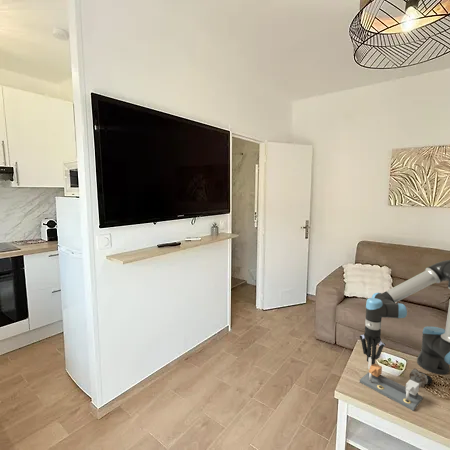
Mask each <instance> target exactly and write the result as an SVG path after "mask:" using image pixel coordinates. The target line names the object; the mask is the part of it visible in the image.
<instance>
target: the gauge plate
mask: <svg viewBox="0 0 450 450" xmlns="http://www.w3.org/2000/svg"><path fill="white" fill-rule="evenodd" d="M359 383H360V384H363V385H364V386H366V387H368V388H369V389H371V390H373V391H375V392H377V393H379V394H381V395H383V396H385V397H386V398H388V399H390V400H393V401H394V402H396V403H398V404H400V405H401V406H403V407H405V408H407V409H409V410H411V411H413V412H414V411H415V410H416V408H417V407H418V406H419V405H420V403H421V402H422V401H423V398H424V397H423V396H422V395H421V394H419V391H420V386H419V383H417V382H414V381H412V380H410V379H408V381H407V382H406V383H405V386H404V385H402V384H400V383H399V382H396V381H394V380H393V379H390V378H387V377H385V376H384V375H382V374H380V375H379V376H378V377H376V376H374V375H372V381H369V371H368V372H367V373H366V374H365V375H364V376H362V377H361V378H360V379H359Z"/></svg>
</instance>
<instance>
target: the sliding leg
mask: <svg viewBox="0 0 450 450" xmlns="http://www.w3.org/2000/svg"><path fill="white" fill-rule="evenodd" d="M382 369H383V367H382V365H380V364H377V363H375V364H372V365H371V366H370V369H368V372H369V381H372V375H374V376H376V377H378V376H379V375H382V372H383V371H382Z"/></svg>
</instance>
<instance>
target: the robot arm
mask: <svg viewBox="0 0 450 450" xmlns="http://www.w3.org/2000/svg"><path fill="white" fill-rule="evenodd" d="M445 281H446V282H448V283H447V288H448V289H449V290H450V259H449V260H448V259H447V260H443V261H438V262H435V263H433V264H432V265H430V266H427V267H426V268H425V270H423V272H420V273H418V274H417V275H414V276H413V277H411V278H409V279H407V280H405V281H403V282H401V283H400V284H397V285H396V286H394V287H391V288H390V289H388V290H386V291H384V292H375V293H373V294H372V296H371V297H369V298H367V300H366V303H365V304H366V305H365V320H364V321H365V322H364V325H365V326H364V334H360V335H359V336H358V337H359V339H360V343H361V346H362V352H363V355H365V356H366V362H368V364H367V369H368V370H370V366H371V365H372V364H376V360H378V359H379V358H380V357H381V354H382V351H383V349H384V347H385V346H386V343H385V342H383V341H382V339H381V331H382V330H381V328H382V318H383V319H384V318H385V319H386V318H387V319H389V318H391V319H405V318H407V315H408V309H407V307H406V305H405V304H403V303H399V302H400V301H403V299H405V298H408V297H409V296H411V295H414V294H416V293H418V292H419V291H422V290H423V289H425V288H427V287H429V286H431V285H433V284H435V283H436V284H440V283H441V282H445ZM377 345H379V347H378V346H377ZM377 347H378V349H377ZM416 363H417V365H418V366H419V367H421V368H422V369H423V370H426V371H427V372H430V373H433V374H436V375H437V374H438V375H448V374H449V373H450V300H449V303H448V310H447V316H446V322H445V328H441V327H437V326H424V327H423V329H422V338H421V350H420V352H419V354H418V356H417V358H416Z"/></svg>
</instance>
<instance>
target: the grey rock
mask: <svg viewBox="0 0 450 450" xmlns="http://www.w3.org/2000/svg"><path fill="white" fill-rule="evenodd" d="M408 377H409V380H412V381H414V382H417V383H419V388H424V387H425V385H432V383H433V378H432V377H431V376H430V375H428V374H427V373H424V372H422V371H420V370H418V369H417V368H413V369H411V371H410V372H409V376H408Z"/></svg>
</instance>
